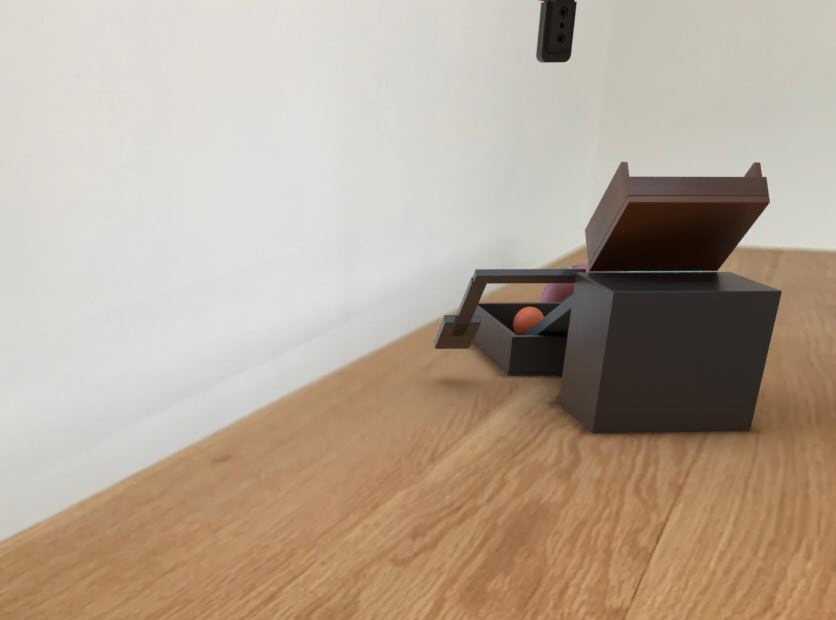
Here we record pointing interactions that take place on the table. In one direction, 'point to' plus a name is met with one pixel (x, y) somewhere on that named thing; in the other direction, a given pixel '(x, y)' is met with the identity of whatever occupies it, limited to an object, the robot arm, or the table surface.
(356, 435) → the table surface
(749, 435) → the table surface
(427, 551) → the table surface
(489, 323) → the tray
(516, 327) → the ball terracotta
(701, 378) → the plinth
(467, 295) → the tipping trough with lever
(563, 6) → the robot arm
